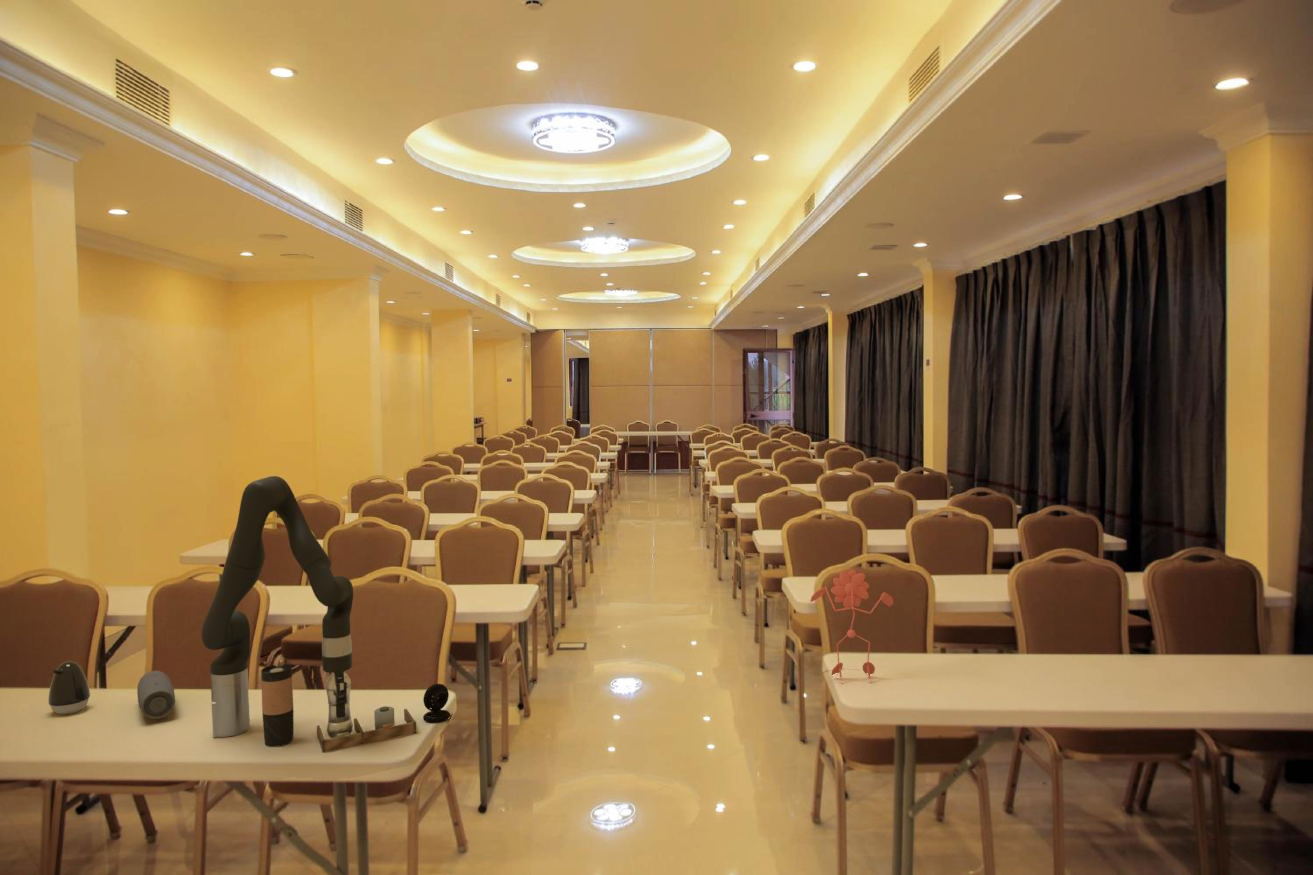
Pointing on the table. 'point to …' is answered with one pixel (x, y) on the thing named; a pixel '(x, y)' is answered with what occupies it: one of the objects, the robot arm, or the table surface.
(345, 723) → the plastic bottle
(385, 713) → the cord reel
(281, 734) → the travel mug
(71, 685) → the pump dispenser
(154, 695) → the bluetooth speaker
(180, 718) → the table surface
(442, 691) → the webcam
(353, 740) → the slot rack
